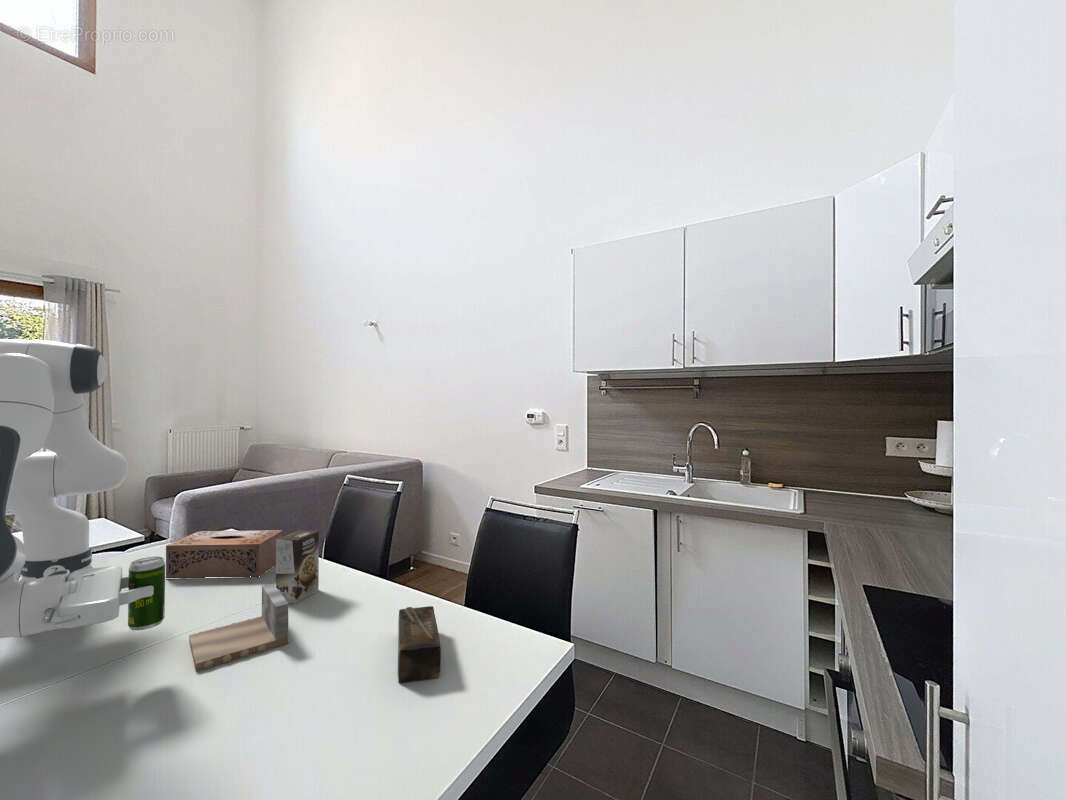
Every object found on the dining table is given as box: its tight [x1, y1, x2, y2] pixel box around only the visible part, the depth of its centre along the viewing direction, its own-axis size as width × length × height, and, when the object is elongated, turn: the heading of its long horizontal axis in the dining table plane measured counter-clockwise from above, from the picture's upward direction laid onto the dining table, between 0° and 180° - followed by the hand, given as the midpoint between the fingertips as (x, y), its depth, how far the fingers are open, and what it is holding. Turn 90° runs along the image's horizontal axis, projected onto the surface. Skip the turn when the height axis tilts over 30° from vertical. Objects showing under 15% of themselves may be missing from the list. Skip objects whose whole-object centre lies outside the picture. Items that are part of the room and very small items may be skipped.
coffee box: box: [275, 529, 320, 604], centre depth 124 cm, size 9×6×16 cm
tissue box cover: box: [165, 529, 283, 579], centre depth 142 cm, size 26×14×10 cm, turn 94°
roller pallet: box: [188, 583, 289, 672], centre depth 100 cm, size 15×16×8 cm
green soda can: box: [127, 556, 166, 631], centre depth 89 cm, size 5×5×12 cm
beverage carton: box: [397, 605, 442, 684], centre depth 96 cm, size 8×19×7 cm, turn 16°
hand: (153, 583), depth 89 cm, fingers closed on green soda can, 5 cm apart
